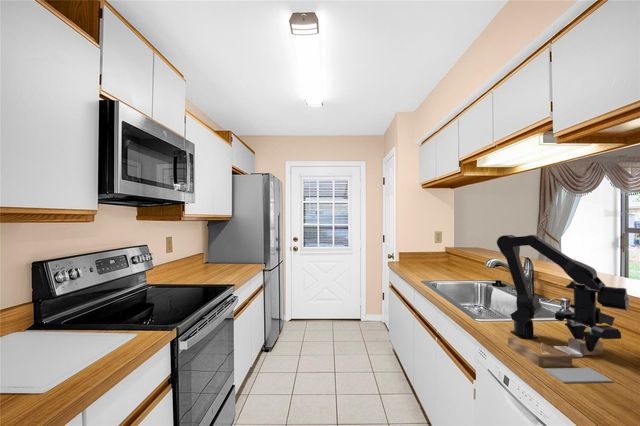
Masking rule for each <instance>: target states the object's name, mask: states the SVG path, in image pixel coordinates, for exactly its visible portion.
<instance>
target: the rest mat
mask: <svg viewBox="0 0 640 426" xmlns="http://www.w3.org/2000/svg"><path fill="white" fill-rule="evenodd" d="M543 371H545V372H547V373H548V374H549V375H550V376H552V377H554V378H555V379H557V380H558V381H560V382H561V383H563V384H568V383H569V384H570V383H571V384H572V383H574V384H576V383H583V384H584V383H613V379H611V378H609V377H607V376H605V375H603V374H602V373H599V372H598V371H596V370H594V369H593V368H591V367H560V368H559V367H556V368H555V367H554V368H553V367H551V368H546V367H545V368H543Z"/></svg>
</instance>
